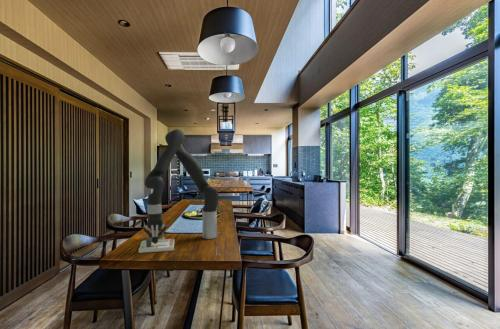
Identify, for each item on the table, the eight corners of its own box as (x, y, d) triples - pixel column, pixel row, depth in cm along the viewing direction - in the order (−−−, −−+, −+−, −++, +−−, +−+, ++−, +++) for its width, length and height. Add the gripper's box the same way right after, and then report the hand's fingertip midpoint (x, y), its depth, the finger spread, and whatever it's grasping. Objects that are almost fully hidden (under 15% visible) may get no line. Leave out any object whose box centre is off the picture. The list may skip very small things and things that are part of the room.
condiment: (165, 238, 167) (165, 219, 167) (151, 240, 162) (151, 221, 162) (162, 235, 173) (162, 217, 173) (149, 237, 168) (149, 219, 168)
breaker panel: (174, 242, 159) (174, 238, 159) (173, 250, 143) (173, 246, 143) (142, 244, 154) (143, 240, 154) (138, 253, 138) (138, 249, 138)
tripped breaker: (151, 245, 145) (151, 238, 145) (150, 246, 142) (150, 239, 142) (146, 245, 144) (146, 238, 144) (146, 246, 142) (146, 239, 142)
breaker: (153, 240, 153) (153, 233, 154) (153, 241, 151) (153, 234, 151) (149, 240, 153) (149, 234, 153) (148, 242, 150) (148, 235, 150)
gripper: (167, 210, 149) (168, 240, 149) (143, 211, 146) (143, 242, 146) (166, 212, 142) (167, 244, 142) (141, 214, 138) (141, 246, 139)
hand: (155, 243), depth 144 cm, fingers closed
